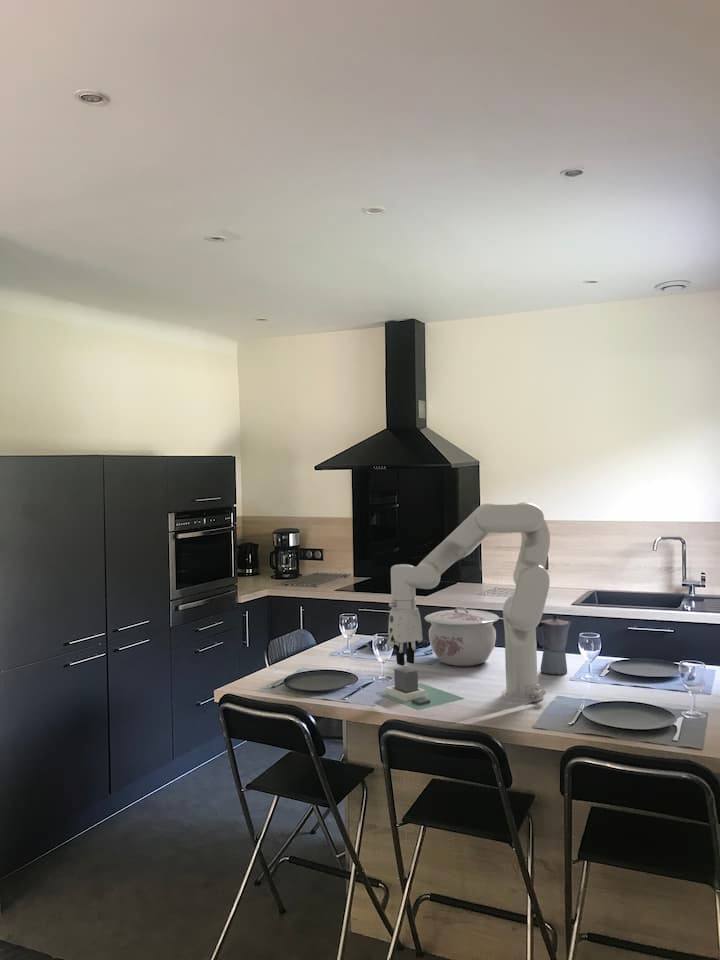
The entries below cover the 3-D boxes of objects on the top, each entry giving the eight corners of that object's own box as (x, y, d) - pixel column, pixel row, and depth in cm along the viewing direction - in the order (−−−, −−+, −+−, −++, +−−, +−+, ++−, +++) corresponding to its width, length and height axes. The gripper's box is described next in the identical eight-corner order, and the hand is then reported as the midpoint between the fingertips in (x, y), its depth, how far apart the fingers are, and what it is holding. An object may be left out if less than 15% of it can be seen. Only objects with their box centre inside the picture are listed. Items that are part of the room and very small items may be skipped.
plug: (418, 696, 233) (417, 670, 233) (406, 699, 230) (405, 672, 230) (405, 691, 238) (404, 666, 238) (393, 694, 236) (392, 668, 236)
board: (465, 702, 229) (464, 691, 229) (417, 713, 219) (417, 703, 219) (420, 686, 248) (420, 676, 248) (375, 696, 238) (375, 686, 238)
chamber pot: (500, 672, 262) (498, 613, 262) (421, 671, 268) (419, 612, 267) (501, 653, 289) (499, 599, 289) (430, 652, 295) (428, 599, 295)
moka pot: (580, 672, 259) (578, 614, 258) (542, 678, 253) (541, 619, 253) (563, 666, 267) (561, 610, 267) (526, 672, 262) (524, 614, 262)
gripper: (389, 609, 226) (391, 670, 226) (432, 603, 235) (433, 661, 235) (375, 606, 233) (376, 665, 233) (417, 600, 242) (419, 657, 242)
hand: (405, 663), depth 234 cm, fingers open, 3 cm apart
